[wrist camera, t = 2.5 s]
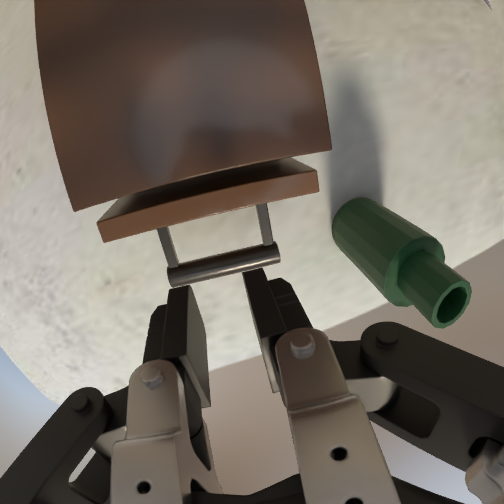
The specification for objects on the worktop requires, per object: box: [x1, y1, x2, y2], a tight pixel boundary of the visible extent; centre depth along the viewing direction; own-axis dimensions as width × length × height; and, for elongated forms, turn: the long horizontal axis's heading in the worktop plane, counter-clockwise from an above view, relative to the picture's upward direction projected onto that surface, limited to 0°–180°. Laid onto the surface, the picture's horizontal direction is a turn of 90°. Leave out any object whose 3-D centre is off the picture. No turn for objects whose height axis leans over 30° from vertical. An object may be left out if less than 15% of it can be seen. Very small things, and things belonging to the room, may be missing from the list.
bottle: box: [332, 198, 472, 328], centre depth 21 cm, size 5×5×13 cm
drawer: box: [97, 157, 319, 288], centre depth 17 cm, size 18×11×8 cm, turn 10°
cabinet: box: [34, 0, 332, 212], centre depth 14 cm, size 15×13×10 cm
